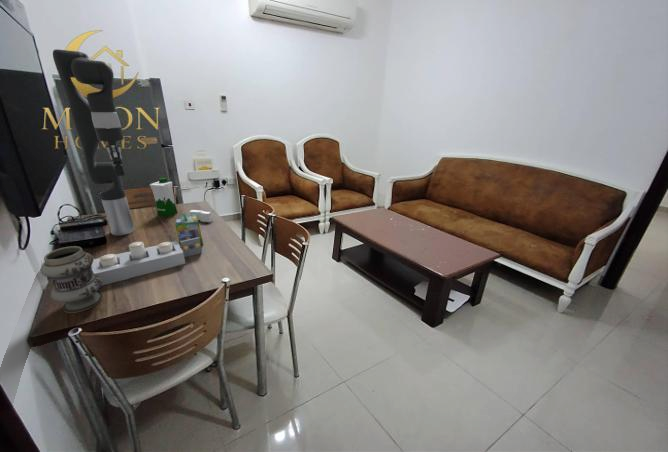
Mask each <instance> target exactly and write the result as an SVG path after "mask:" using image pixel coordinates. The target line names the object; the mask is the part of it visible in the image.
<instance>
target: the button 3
mask: <svg viewBox="0 0 668 452" xmlns="http://www.w3.org/2000/svg"><path fill="white" fill-rule="evenodd" d="M171 242H172V241H165V242H164V241H163V242H160V243H159V244H157V245H158V247H159V251H160V254H164V253H168V252H173V247H172V243H171Z"/></svg>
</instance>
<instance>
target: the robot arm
mask: <svg viewBox="0 0 668 452" xmlns="http://www.w3.org/2000/svg"><path fill="white" fill-rule="evenodd" d="M52 58H53V62H54V65H55V68H56V70H57V73H58V76H59V78H60V81H61V84H62V87H63V89H64V93H65V96H66V98H67V103H68V106H69V108H70V112H71V117H72V120H73V124H74V127H75V130H76V132H77V136H78V139H79V140H80V141H79V142H80V143H81V144H80V145H81V147H82V151H83V155H84V159H85V164H86V168H87V172H88V175H89V178H90V180H91V182H92V184H95V185H102V184H113V186H111V187H110V188H107V189H105V190H102V191H100V193H99V198H100V200H101V204H102V205H103V209H104V212H105V217H106V219H107V223H108V225H109V226H108V227H109V229H110V232H111V235H113V236H125V235H128V234H129V235H130V234H132V233H134V232H135V231H136V229H135V225H134V221H133V217H132V214H131V210H130V207H129V202H128V199H127V195H126V192H125V188H124V184H123V180H122V177H123V176H125V171H124V168H123V167H124V166H123V162H122V160H123V156H122V153H121V151H122V149H121V145H120V144H117V142H118V141H119V142H120V141H123V140H124V139H125V138H124V133H123V129H122V126H121V125H122V124H121V121H120V117H119V115H118V112H117V108H116V105H115V102H114V100H115V99H114V94H113V93H114V91H113V90H114V79H115V77H114V71H113V69H112V68H113V67H111V66H110V65H109V64H108V63H107V62H106V61H102V60H95V59H94V60H92V59H91V58H90V56H89V55H88V54H87V53H84V52H83V51H77V50H76V51H75V50H69V49H68V50H67V49H66V50H65V49H57V48H56V49H54V50H52ZM72 78H73V79H74V78H75V80H76V81H77V82H78V83H80V84H82V85H83V84H84V85H96V86H97V85H101V86H102V88H101V90H100V91H94V92H89V93H87V94H86V98H85V96H84V95H83V94H82V93H81V92H80V91H79V90H78V88H77V87H76V85H75V84H74V82H73V81H72ZM101 142H107V143H108V145H106V146H105V147H106V151H107V152H108V155H109V158H110V160H111V161H105V162H104V161H102V162H99V161H98V162H97V158H96V156H97V155H96V154H97V150H98V147H99V145H100V144H101Z"/></svg>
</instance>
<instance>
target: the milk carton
mask: <svg viewBox="0 0 668 452" xmlns="http://www.w3.org/2000/svg"><path fill="white" fill-rule="evenodd" d="M149 187H150V188H151V191H152V193H153V196H154V197H153V198H154V201H155V203H154V204H155V205H156V214H157V215H156V216H157V217H161V218H163V217H164V218H170V217H173V216H174V215H177V214H178V209H177V206H176V202H175V195H174V192H173V181H169V180H168V178H167V177H159V178H158V181H156V182H152V183H150V184H149Z"/></svg>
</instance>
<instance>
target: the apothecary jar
mask: <svg viewBox="0 0 668 452" xmlns="http://www.w3.org/2000/svg"><path fill="white" fill-rule="evenodd" d="M93 259H94V257H93V255H92V254H91V253H89V252H86V251H84V250H83V248H82V247H81V246H76V245H73V246H66V247H60V248H57V249H55V250H52V251H50V252H48V253H46V254H45V255H44V256H43V261H44V262H43V263H42V265H41V267H40V273H41V274H42V275H43V276H44V277H46V278H49V279H50V282H51V284H52V286H53V288H52V290H51V291H50V295H51V298H52V299H53V300H54V301H55V302H58V303H64V304H63V305H62V311H63V312H64V313H68V314H77V313H81V312H84V311H88V310H90V309H92V308H93V307H95V306H97V305H98V304H100V303H101V302H102V300H103V298H104V295H103V294H102V293H101V292H99V290H100V289H101V288H102V286H103V285H102V279H101V278H100V277H99V276H97V275H95V274H94V273H93V271H92V263H93Z"/></svg>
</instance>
